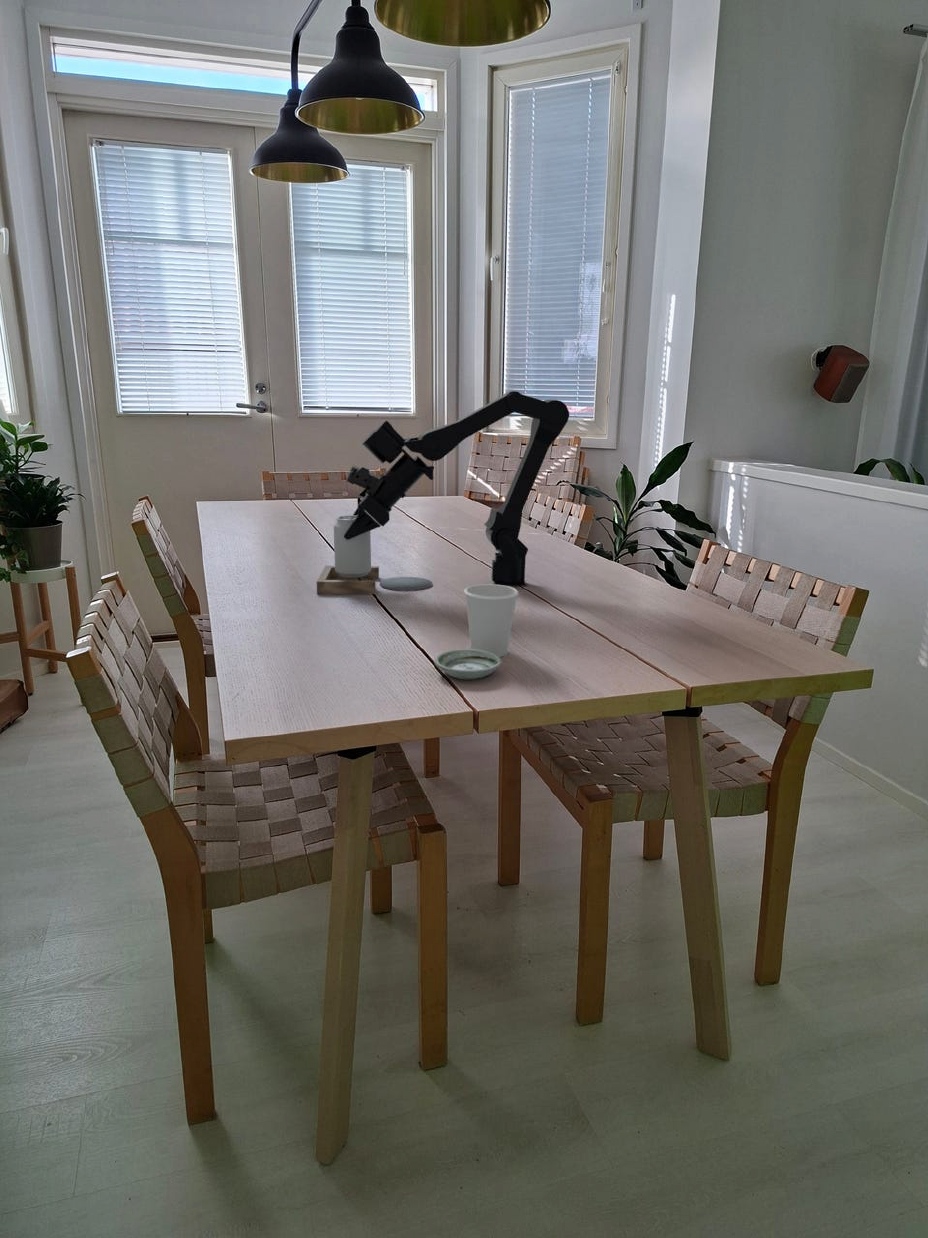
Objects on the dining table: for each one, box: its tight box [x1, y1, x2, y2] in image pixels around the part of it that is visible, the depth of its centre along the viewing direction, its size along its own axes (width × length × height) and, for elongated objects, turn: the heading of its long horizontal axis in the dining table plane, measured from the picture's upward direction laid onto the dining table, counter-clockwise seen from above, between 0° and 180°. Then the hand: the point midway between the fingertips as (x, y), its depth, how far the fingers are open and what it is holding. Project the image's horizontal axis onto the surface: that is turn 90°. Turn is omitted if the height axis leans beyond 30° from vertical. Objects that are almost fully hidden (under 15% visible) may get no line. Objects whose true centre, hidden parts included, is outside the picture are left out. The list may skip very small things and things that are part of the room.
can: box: [333, 514, 372, 577], centre depth 166 cm, size 8×8×12 cm
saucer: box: [433, 648, 502, 680], centre depth 117 cm, size 10×10×2 cm
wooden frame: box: [316, 565, 380, 595], centre depth 168 cm, size 12×15×2 cm
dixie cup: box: [463, 583, 519, 658], centre depth 126 cm, size 8×8×10 cm
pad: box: [379, 576, 433, 592], centre depth 169 cm, size 11×11×1 cm
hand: (345, 534), depth 165 cm, fingers closed on can, 7 cm apart
